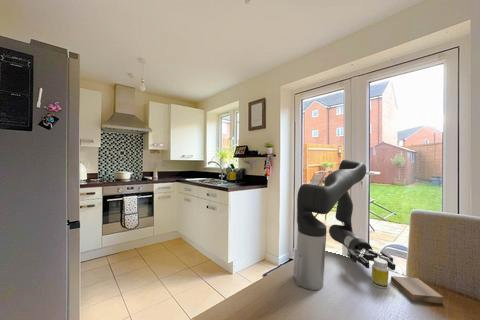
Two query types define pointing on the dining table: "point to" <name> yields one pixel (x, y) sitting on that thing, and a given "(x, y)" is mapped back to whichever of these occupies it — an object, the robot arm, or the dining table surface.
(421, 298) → the block
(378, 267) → the supplement bottle
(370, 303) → the dining table surface
